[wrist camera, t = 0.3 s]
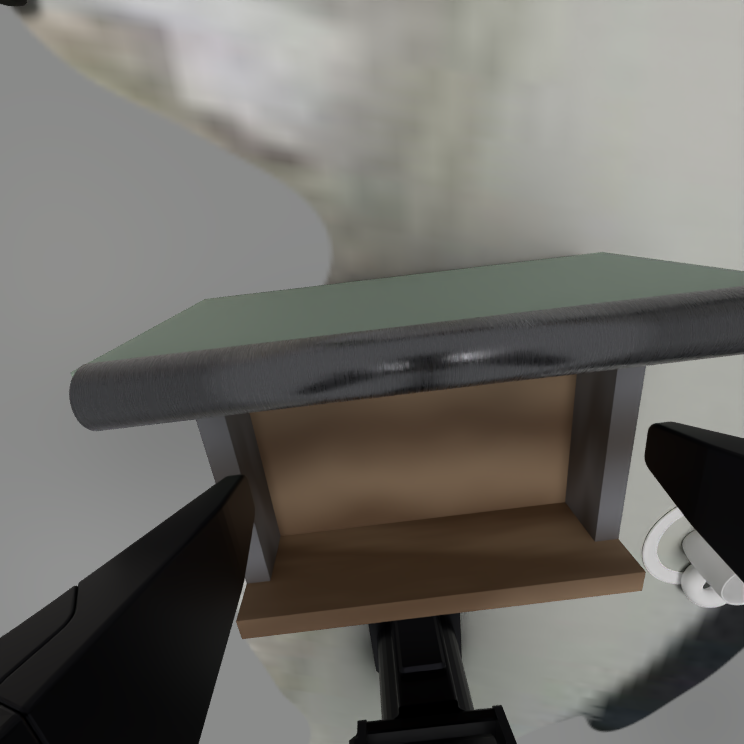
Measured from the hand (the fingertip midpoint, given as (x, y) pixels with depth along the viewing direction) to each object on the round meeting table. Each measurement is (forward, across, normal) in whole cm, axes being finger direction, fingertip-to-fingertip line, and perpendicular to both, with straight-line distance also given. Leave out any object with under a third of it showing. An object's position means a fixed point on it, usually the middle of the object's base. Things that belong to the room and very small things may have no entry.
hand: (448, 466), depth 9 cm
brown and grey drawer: (+13, 0, +5) cm, 14 cm away
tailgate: (+10, 0, -2) cm, 11 cm away
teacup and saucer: (+14, -17, +20) cm, 30 cm away
